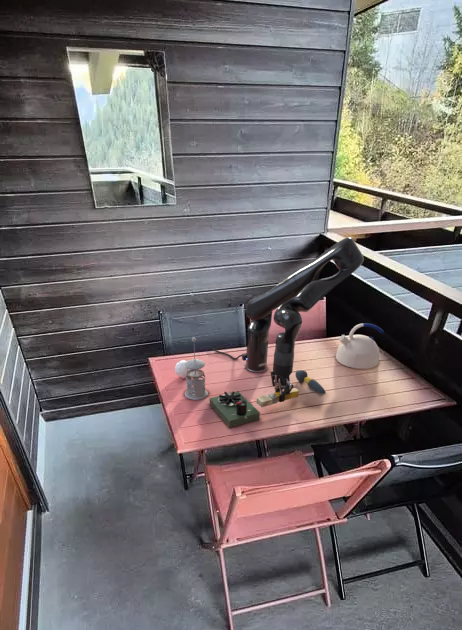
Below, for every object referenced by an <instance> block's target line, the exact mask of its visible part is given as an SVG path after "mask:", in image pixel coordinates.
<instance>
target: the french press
mask: <svg viewBox="0 0 462 630" xmlns="http://www.w3.org/2000/svg"><path fill="white" fill-rule="evenodd" d="M196 341H197V338H196V337H192V338H191V342H196ZM195 345H196V344H193V355H194V356H193V357H194V358H192V359H189V360H186V361H187V362H186V363H185V366H186V367H187V373H186V374H187V375H186V378H185V383H186V384H185V385H186V390H185V392H184V397H185V398H187V399H189V400H193V401H199V400H203V399H205V398H207V397H208V394H209V392H208V391H207V390H206V375H205V371H204V370H202V369H203V368H204V367H205V365H206V362H204V360H201V359H198V358H196V348H195V347H196V346H195ZM188 368H189V369H192V370H189V371H188Z"/></svg>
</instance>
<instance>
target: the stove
mask: <svg viewBox="0 0 462 630" xmlns="http://www.w3.org/2000/svg"><path fill="white" fill-rule="evenodd" d="M233 392H234V394H236V395H238V394H240V395H241V396H240V397H241V400H245V401H246V402H247V413H246V414H245V415H242V416H241V415H237V414H236V406H235V407H226V406H223V405H221V404H220V403H219V395H216V396H213V397H209V401H208V402H209V406H210V407H211V408H212V409H213V410H214V411H215V413H216V414H217V415H218V417H220V418H221V420H222V421H223V423H225V424H226V426H227V427H228V428H233V427H237V426H240V425H244V424H247V423H250V422H254V421H258V420H260V418H261V412H260V411H259V410H258V409H257V408H256V407H255V406H254V405H253V404H252V403H251V402H250V401H249V400H248V399H247V398H246V397H245V396H244V395H243V394H242V393H241V392H240V391H239V390H236V391H233ZM227 393H228V392H227ZM228 394H232V392H229V393H228Z"/></svg>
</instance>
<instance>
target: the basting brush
mask: <svg viewBox="0 0 462 630" xmlns="http://www.w3.org/2000/svg"><path fill="white" fill-rule="evenodd" d="M299 393H300V392H299V389H298V388H296V387H293V388H292V390H291V392H290V394H288V395H285V401H287V400H293V399H296V398H298V397H299ZM279 396H280V392H276V393H275V392H271V393H268V394H265V395H261V396H257V397H256V404H257V405H258V406H259V407H260V408H265V407H269V406H272V405H276V404H278V403H280V402H279Z"/></svg>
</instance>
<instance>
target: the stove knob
mask: <svg viewBox="0 0 462 630" xmlns="http://www.w3.org/2000/svg"><path fill="white" fill-rule="evenodd" d="M246 413H247V402H246V401H245V400H238V401H237V402H236V414H237V415H241V416H242V415H245V414H246Z"/></svg>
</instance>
